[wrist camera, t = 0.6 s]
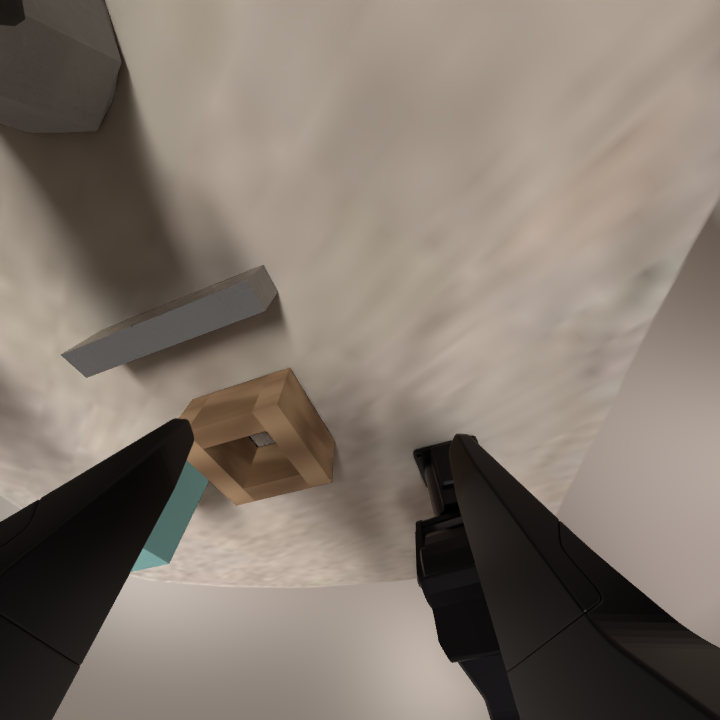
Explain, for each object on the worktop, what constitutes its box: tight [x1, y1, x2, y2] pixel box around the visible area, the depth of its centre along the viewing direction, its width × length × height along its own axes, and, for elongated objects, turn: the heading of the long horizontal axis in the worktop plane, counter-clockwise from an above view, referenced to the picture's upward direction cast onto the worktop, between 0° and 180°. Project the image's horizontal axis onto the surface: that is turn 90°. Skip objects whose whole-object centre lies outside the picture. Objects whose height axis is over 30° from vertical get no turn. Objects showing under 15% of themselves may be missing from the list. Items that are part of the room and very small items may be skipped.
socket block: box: [179, 368, 335, 506], centre depth 25 cm, size 10×10×4 cm
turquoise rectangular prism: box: [131, 461, 209, 572], centre depth 26 cm, size 4×4×9 cm
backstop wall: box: [61, 265, 278, 378], centre depth 19 cm, size 2×14×4 cm, turn 110°
